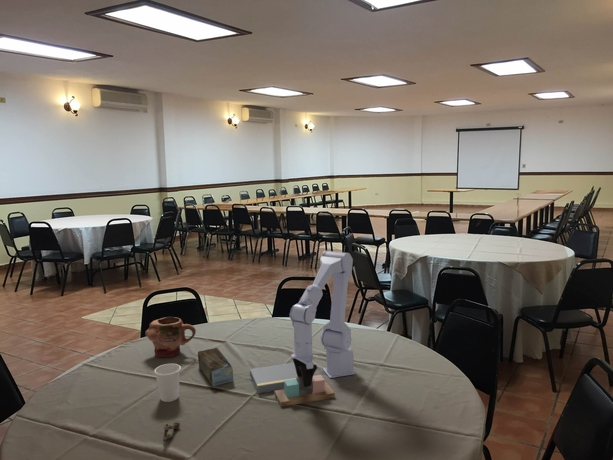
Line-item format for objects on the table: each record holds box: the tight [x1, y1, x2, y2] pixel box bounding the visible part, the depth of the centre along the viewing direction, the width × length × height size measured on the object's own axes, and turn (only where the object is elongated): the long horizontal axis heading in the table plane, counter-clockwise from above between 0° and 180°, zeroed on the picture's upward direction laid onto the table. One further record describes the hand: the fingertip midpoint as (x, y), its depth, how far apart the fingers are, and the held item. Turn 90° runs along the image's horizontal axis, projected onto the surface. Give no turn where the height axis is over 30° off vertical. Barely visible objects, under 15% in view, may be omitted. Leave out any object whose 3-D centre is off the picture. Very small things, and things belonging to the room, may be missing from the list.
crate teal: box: [284, 379, 300, 398], centre depth 158 cm, size 4×4×4 cm
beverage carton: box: [197, 347, 234, 387], centre depth 177 cm, size 8×19×7 cm, turn 26°
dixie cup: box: [153, 363, 182, 403], centre depth 160 cm, size 8×8×10 cm
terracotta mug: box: [144, 316, 197, 359], centre depth 196 cm, size 20×12×14 cm, turn 95°
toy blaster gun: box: [162, 421, 181, 443], centre depth 138 cm, size 2×8×4 cm, turn 169°
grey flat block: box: [249, 362, 315, 394], centre depth 171 cm, size 20×14×3 cm
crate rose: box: [312, 374, 326, 393], centre depth 160 cm, size 4×4×4 cm
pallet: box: [274, 376, 335, 407], centre depth 159 cm, size 18×8×6 cm, turn 107°
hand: (303, 381), depth 158 cm, fingers open, 7 cm apart
